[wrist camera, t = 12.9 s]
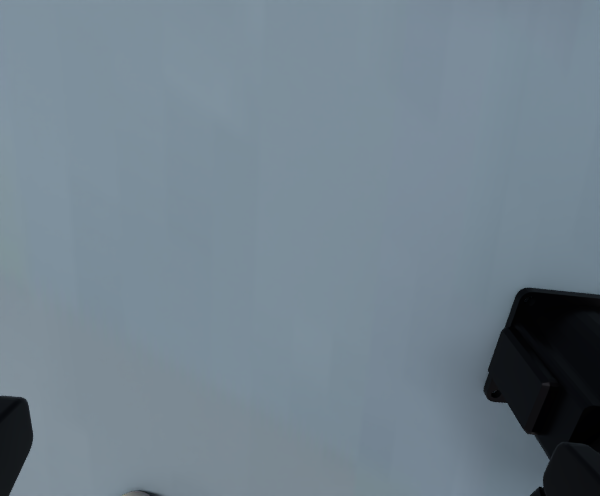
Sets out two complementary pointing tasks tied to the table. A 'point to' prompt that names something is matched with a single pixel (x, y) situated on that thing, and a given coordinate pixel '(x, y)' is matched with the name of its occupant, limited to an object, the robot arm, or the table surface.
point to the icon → (136, 493)
